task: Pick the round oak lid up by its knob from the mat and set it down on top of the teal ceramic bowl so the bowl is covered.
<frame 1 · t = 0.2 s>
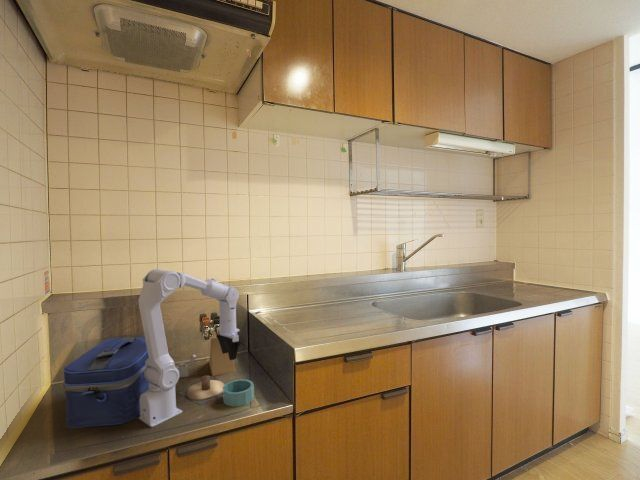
hand: (229, 356, 123), 10 cm above the countertop, tool pointing down, fingers open, 7 cm apart
bowl: (238, 399, 111), on the countertop
sandwich container: (221, 368, 137), on the countertop
lid: (206, 390, 116), resting on mat
mat: (206, 391, 116), on the countertop
lunch bag: (118, 404, 110), on the countertop
lighter: (187, 376, 129), on the countertop
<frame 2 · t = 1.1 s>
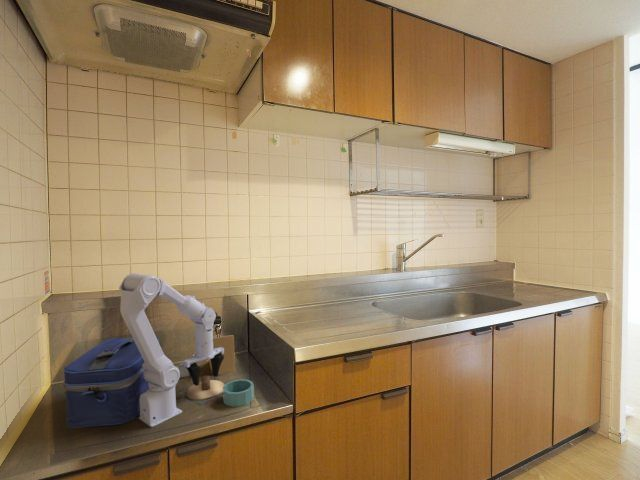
hand: (205, 380, 116), 4 cm above the countertop, tool pointing down, fingers open, 7 cm apart
nothing on the countertop moved.
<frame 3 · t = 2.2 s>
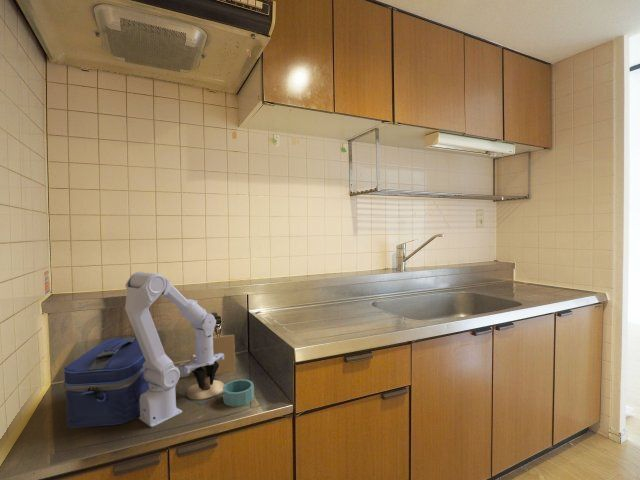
hand: (205, 386, 116), 2 cm above the countertop, tool pointing down, fingers closed on lid, 3 cm apart
lid: (206, 390, 116), resting on mat, touching gripper
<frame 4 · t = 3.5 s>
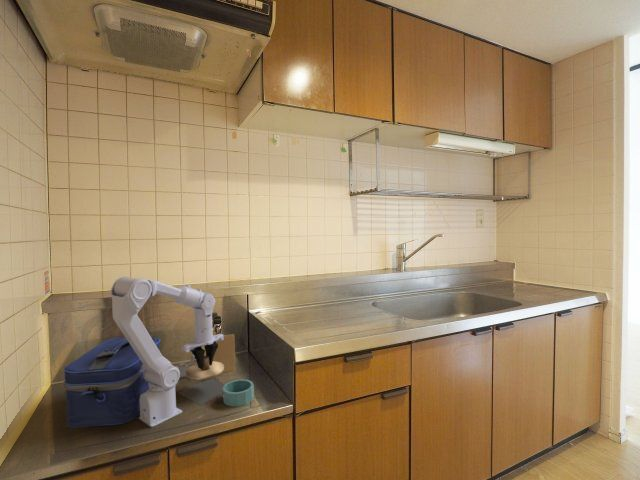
hand: (205, 366, 116), 9 cm above the countertop, tool pointing down, fingers closed on lid, 3 cm apart
lid: (205, 371, 116), point 7 cm above the countertop, touching gripper
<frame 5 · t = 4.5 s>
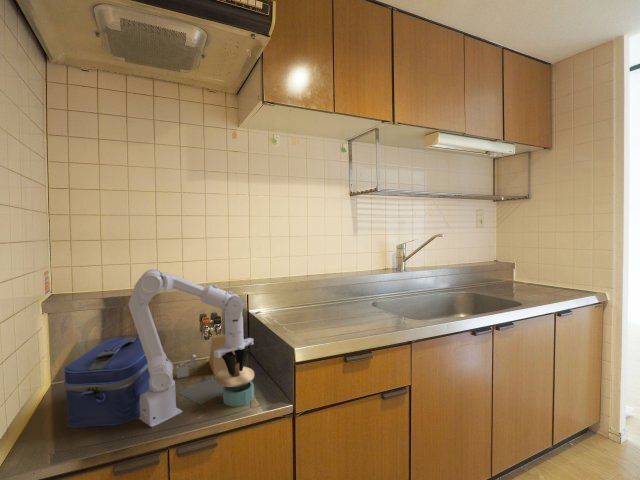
hand: (235, 372, 111), 9 cm above the countertop, tool pointing down, fingers closed on lid, 3 cm apart
lid: (235, 377, 111), point 7 cm above the countertop, touching gripper
when the fingers open (7 cm above the countertop, at t = 5.3 s): lid stays where it is, resting on bowl.
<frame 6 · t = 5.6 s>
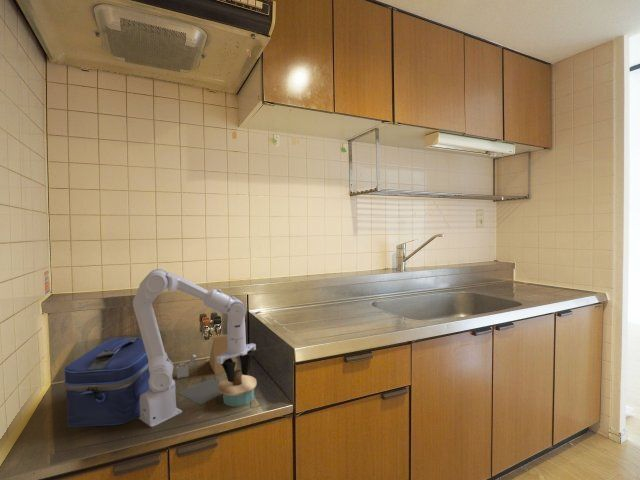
hand: (238, 377, 110), 7 cm above the countertop, tool pointing down, fingers open, 5 cm apart
lid: (237, 385, 111), point 4 cm above the countertop, touching bowl
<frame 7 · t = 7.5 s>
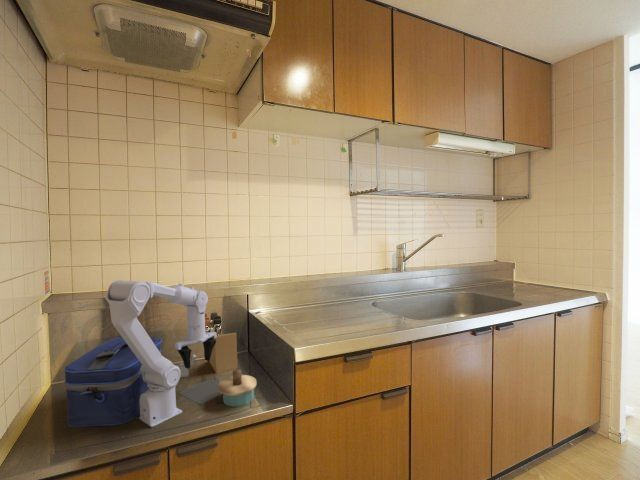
hand: (197, 363, 116), 10 cm above the countertop, tool pointing down, fingers open, 7 cm apart
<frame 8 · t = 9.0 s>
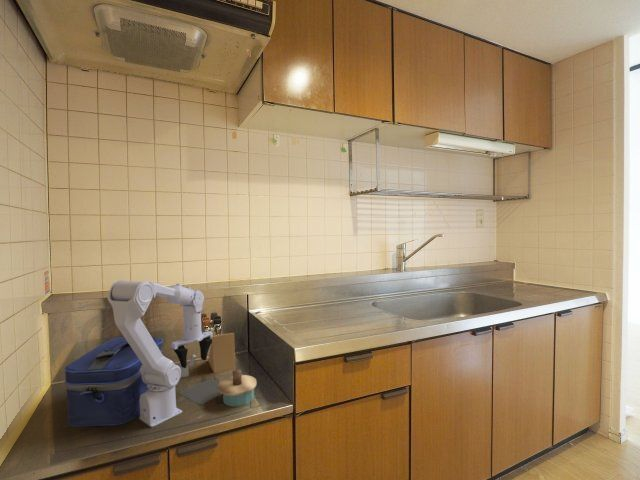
hand: (194, 363, 116), 10 cm above the countertop, tool pointing down, fingers open, 7 cm apart
at the end: lid 0.4 cm off-centre on the bowl, point 4.5 cm above the bowl's base; lid tilted 0°; the gripper is holding nothing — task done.
